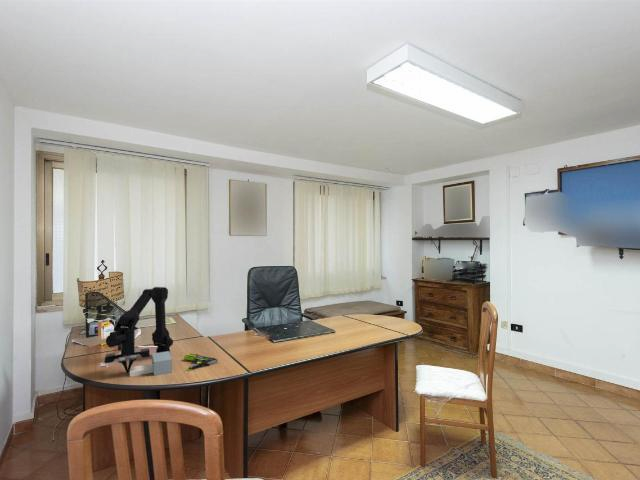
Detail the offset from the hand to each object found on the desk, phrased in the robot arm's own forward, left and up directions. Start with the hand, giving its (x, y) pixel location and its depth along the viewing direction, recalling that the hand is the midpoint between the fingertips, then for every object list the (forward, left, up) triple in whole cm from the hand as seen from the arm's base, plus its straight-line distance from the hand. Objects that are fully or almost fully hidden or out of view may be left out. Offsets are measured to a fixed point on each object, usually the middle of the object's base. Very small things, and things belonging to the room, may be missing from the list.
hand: (127, 372), depth 161 cm
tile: (-8, -1, -2) cm, 8 cm away
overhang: (-15, 0, -1) cm, 15 cm away
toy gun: (-31, +2, -2) cm, 31 cm away
